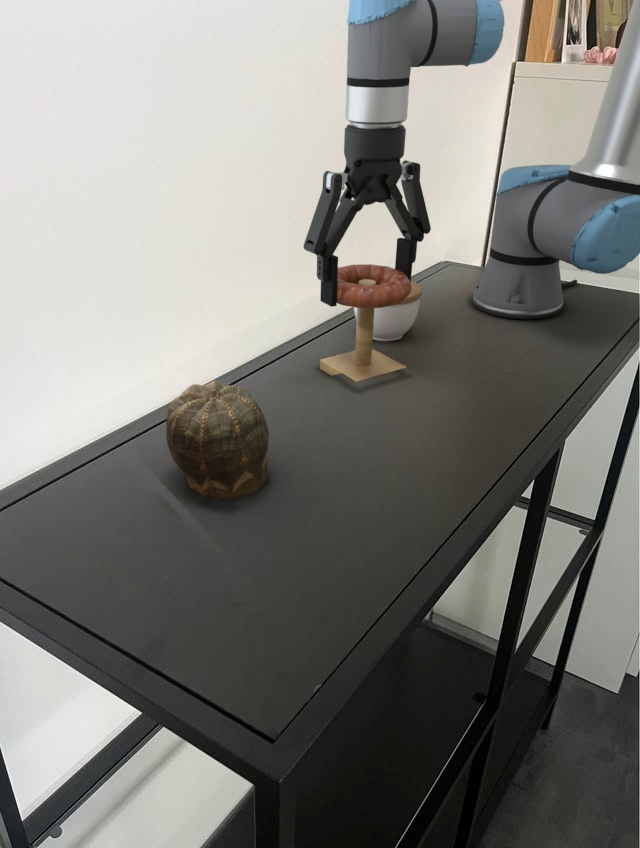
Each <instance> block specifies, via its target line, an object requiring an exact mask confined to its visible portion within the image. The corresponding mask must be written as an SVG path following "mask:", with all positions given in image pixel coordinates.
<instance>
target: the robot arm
mask: <svg viewBox="0 0 640 848" xmlns="http://www.w3.org/2000/svg"><path fill="white" fill-rule="evenodd" d="M348 1H349V4H348V14H347V19H346V23H347V55H346V56H347V59H346V61H347V62H346V89H345V115H344V118H345V120H346V121H347V122H349V124H347V125H346V126H345V128H344V137H343V138H344V139H343V156H344V158H345V167H344V170H343V171H341V172H339V171H338V172H335V171H331V170H326V171H325V172H324V173H323V174H322V175H323V176H322V186H321V187H322V190H321V193H320V196H319V199H318V201H317V205H316V207H315V208H316V209H315V211H314V214H313V216H312V219H311V222H310V225H309V228H308V231H307V234H306V237H305V240H304V243H303V249H304V250H305V251H307V252H308V253H311V254H314V255H315V256H316V278H317V280H319V281H320V300H319V301H320V302H322V303H323V304H326V305H327V306H329V307H331V308H332V307H337V304H338V303H337V278H338V268H339V256H337V255H334V253H335V252H336V250H337V248H338V247H339V245H340V243H341V241H342V239H343V238H344V236H345V235H346V233H347V231H348V230H349V227H350V226H351V224H352V222H353V220H354V219H355V217H356V215H357V213H358V212H360V211H362V209H363V208H364V206H369V205H372V204H373V205H374V204H375V203H380V204H382V203H384V204H385V207H386V208H387V210H388V212H389V214H390V215H391V217H392V219H393V221H394V223H395V224H396V226H397V228H398V230H399V232H400V233H401V236H402V237H397V238H396V251H395V262H394V263H395V264H394V269H396V270H399V271H401V272H403V273H405V274H406V275H407V277H408V279H409V281H410V283H411V281H412V272H413V264H414V263H416V259H417V250H418V243H421V242H423V241H424V238H425V235H428V234H429V233H430V232H431V230H432V227H431V222H430V218H429V214H428V209H427V205H426V201H425V197H424V193H423V188H422V183H421V163H419V162H415V161H411V160H406V159H405V160H403V161H402V162H401V159H403V157H404V155H405V150H406V149H405V147H406V136H407V135H406V132H407V128H405V126H404V124H403V123H404V122H405V121H407V119H408V109H409V95H410V79H411V71H412V68H421V67H449V66H464V67H469V66H471V65H478V64H484V63H486V62H488V61H490V60H491V59H492V58H493V57H494V56H495V55H496V53H497V51H499V48H500V46H501V43H502V41H503V37H504V27H505V13H504V9H503V7H502V4H501V2H502V1H503V0H348ZM399 181H400V182H401V188H402V192H403V194H402V193H401V190H400V189H399V187H398V183H399ZM342 191H343V193H342ZM495 194H496V198H495V206H494V215H493V223H492V231H491V238H490V248H489V255H488V258H487V262H486V264H485V265H484V268H483V270H482V272H481V275H480V276H479V280H478V281H477V283H476V285H475V287H474V290H473V293H472V304H473V305H474V306H475V307H476V308H477V309H478V310H479V311H482V312H484V313H486V314H490V315H493V316H497V317H502V318H505V319H506V318H507V319H513V320H538V319H539V320H540V319H545V318H550V317H553V316H555V315H558V314H559V313H560V312H562V310H563V305H564V292H563V290H562V288H568V287H571V286H573V285H577V284H578V280H577V279H573V280H571V281H567V282H563V283H562V278H561V270H560V261H562V262H564V263H567V264H569V265H572V266H573V267H575V268H576V269H578V270H581V271H588V272H591V273H595V274H599V275H604V274H605V275H607V274H612V273H614V272H617V271H620V270H622V269H623V268H625V267H626V266H627V265H628V264H629V263H631V262H633V261H634V260H635V259H636V258H637V257H638V256H639V255H640V0H633V2H632V5H631V9H630V12H629V14H628V18H627V21H626V24H625V27H624V30H623V33H622V37H621V40H620V43H619V46H618V50H617V52H616V56H615V59H614V63H613V65H612V68H611V71H610V75H609V78H608V81H607V84H606V87H605V89H604V93H603V97H602V99H601V103H600V106H599V109H598V112H597V116H596V119H595V122H594V124H593V129H592V132H591V134H590V138H589V140H588V144H587V147H586V150H585V154H584V156H583V157H582V158H581V159H580V160H579V161H577V162H576V163H574V164H573V165H571V164H534V165H533V164H532V165H521V166H515V167H510V168H507V169H506V170H504V171H503V173H502V174H501V175H500V178H499V184H498V187H497V191H496V193H495ZM403 195H404V196H403ZM403 198H404V199H405V202H404V200H403ZM405 203H406V204H405Z"/></svg>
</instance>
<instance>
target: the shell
mask: <svg viewBox="0 0 640 848" xmlns="http://www.w3.org/2000/svg"><path fill="white" fill-rule="evenodd" d="M165 418H166V419H165V420H166V422H165V423H166V424H165V425H166V426H165V427H166V428H165V429H166V430H165V438H166V439H165V440H166V444H167V448H168V450H169V454H170V456H171V458H172V461H174V463H175V465H176V466H177V467H178V468H179V469H180V470H181V472H182V473H183V474H184V475H185V477H186V481H187V483H188V485H189V487H190V489H191V490H193V491H195V492H196V493H198V494H199V495H203V496H206V497H209V498H213V499H233V498H238V497H244V496H247V495H249V494H251V493H254V492H255V491H258V490H259V489H260V488H262V486H263V485H264V484H265V482H266V481H267V478H268V470H267V469H268V450H269V440H270V439H269V437H270V436H269V435H270V433H269V427H268V424H267V421H266V417H265V415H264V413H263V411H262V410H261V407H260V406H259V404H258V401H256V399H255V397H254V396H253V395H252V394H251V393H250V392H249V390H248V389H246V388H244V387H242V386H239V385H232V384H231V385H229V384H227V383H224V382H221V381H218V380H213V381H211V382H209V383H207V384H205V385H201V384H198V383H193V384H191V385H190V386H188V387H187V388H186V389H185V390H184V391H182V392H181V394H180V395H178V396H176V397H175V398H174V399H173V400H171V402H170V403H169V406H168V408H167V412H166V417H165Z"/></svg>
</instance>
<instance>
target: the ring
mask: <svg viewBox="0 0 640 848" xmlns="http://www.w3.org/2000/svg"><path fill="white" fill-rule="evenodd" d="M364 279H370V280H374V281H375V282H376V285H360V284H358V282H359V281H360V280H364ZM411 289H412V286H411V283H410V281H409V279H408V277H407V275H406V274H405V273H403V272H401V271H399V270H396V269H395V267H391V266H387V265H379V264H374V263H373V264H372V263H368V264H365V263H364V264H361V263H360V264H348V265H345V266H344V265H343V266H338V278H337V304H338V305H341V306H344V307H349V308H354V307H356V308H383V307H387V306H391V305H395V304H398V303H400V302H401V301H403V300H404V299H405V298H406V297H407V296H408V295H409V294H410V292H411Z"/></svg>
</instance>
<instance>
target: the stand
mask: <svg viewBox="0 0 640 848" xmlns="http://www.w3.org/2000/svg"><path fill="white" fill-rule="evenodd" d="M358 284H360V285H376V282H375V281H374V280H370V279H364V280H360V281H359V282H358ZM374 309H375V308H357V321H356V322H355V323H356V327H355V345H354V346H355V347H354V350H351V351H347V352H343V353H340V354H335V355H333V356H328V357H325V358H321V359H319V369H320V370H321V371H323V372H324V373H326V374H327V375H330V376H331V377H332V376H335V375H336V376H337V375H340V374H343V375H344V376H346V377H348V378H350V379H351V380H353V381H354V382H360V381H364V380H368V379H370V378H371V379H372V378H375V377H378V376H381V375H384V374H388V373H391V372H395V371H398V370H402V369H406V370H408V369H407V368H408V367H407V366H406V365H405V364H402V363H400V362H399V361H397V360H395V359H393V358H391V357H389V356H387V355H386V354H384V353H381V352H380V351H378V350H376V349H375V348H373V342H374V341H373V340H374V339H373V326H374Z"/></svg>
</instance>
